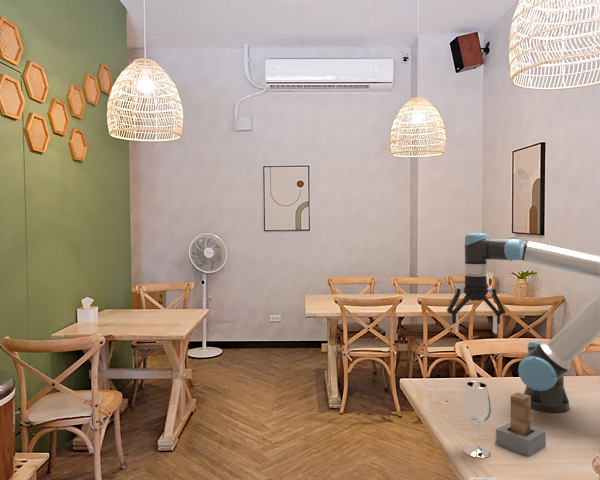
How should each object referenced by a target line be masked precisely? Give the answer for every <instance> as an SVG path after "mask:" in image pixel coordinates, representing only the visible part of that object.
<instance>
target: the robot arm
mask: <svg viewBox="0 0 600 480" xmlns="http://www.w3.org/2000/svg"><path fill="white" fill-rule="evenodd" d="M463 248H464V274H465V276H464V288H460V287H456V288H455V294H454V295H453V297H452V299H451V301H450V303H449V304H448V307H447V309H446V312H447V313H448V314H451V321H452V324H454V332H455V334H458V333H459V314H458V313H459V312H460V311H461V310H462V308H463V307H464V306H465V305H466V304H467V303H468V302H469V301H471V302H472V301H473V302H474V301H482V300H483V301H484V303H486V305H487V306H488V307H489V309H490V310H491V311H493V313H494V314H493V315H492V332H493V333H494V334H495V335H496V334H498V325H500V323H501V315H505V314H506V310H505V308H504V307H503V305H502V302H501V301H500V299H499V297H498V295H497V289H496V288H494V287H491V288H488V287H487V285H488V284H487V280H488V279H487V276H486V275H487V271H488V269H487V268H488V267H487V260H490V261H491V260H493V261H494V260H496V261H511V262H512V261H523V262H524V261H525V262H530V263H533V264H536V265H537V264H538V265H542V266H546V267H551V268H554V269H558V270H562V271H568V272H570V273H576V274H579V275H583V276H589V277H592V278H596V279H600V255H597V254H593V253H588V252H583V251H579V250H573V249H568V248H565V247H559V246H556V245H555V246H554V245H549V244H545V243H540V242H535V241H530V240H525V239H521V238H519V237H509V238H488V237H487V233H484V232H483V233H482V232H481V233H479V232H478V233H475V232H473V233H472V232H471V233H467V234H465V236H464V247H463ZM463 293H464V294H465V296H464V297H463V299H462V300H461V301H460V302H459V303H458V304H457V301H458V300H459V299H460V296H461V295H462V294H463ZM488 293H489V294H490V295H491V297H492V299H493V300H494V303H495V304H496V306H497V307H495V306H494V304H493V303H492V302H491V301H490V300H489V299H488V297H487V296H486V295H488ZM456 304H457V305H456ZM455 305H456V306H455ZM599 336H600V293H598V294H597V296H595V297H594V298H593V299H592V300H591V301H590V302H589V303H588V304H587V305H586V306H585V307H583V308H582V309H581V311H580V312H578V314H576V315H575V316H574V317H573V318H572V319H571V320H570V321H569V322H567V324H566V325H565V326H563V328H562V329H560V331H558V332H557V333H556V334H555V335H554V336H553V337H552V338H551V339H550V340H549V341H541V340H540V341H539V340H532V341H529V342H528V344H527V354H526V355H525V357H524V358H522V359H521V360H520V362H519V364H518V368H517V369H518V371H517V372H518V376H519V378H520V381H522V383H523V384H524V385H525V389H524V391H523V393H522V394H525V395H528V396H531V409H534V410H536V411H541V412H546V413H547V412H548V413H564V412H567V411H569V409H570V400H569V397H568V395H567V391H566V388H565V386H564V385H565V383H564V382H565V381H564V379H565V378H564V377H565V376H564V375H565V374H566V373H567V372H568V371H569V370H571V362H572V361H573V360H574V359H576V357H577V356H578V355H579V354H580V353H581V352H583V351H584V350H585V349H586V348H587V347H588V346H590V344H592V343H593V342H594V341H595V340H596V339H597V338H598V337H599Z"/></svg>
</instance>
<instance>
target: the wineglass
mask: <svg viewBox="0 0 600 480" xmlns="http://www.w3.org/2000/svg"><path fill="white" fill-rule="evenodd" d="M462 412H463V414H464V416H465V418H466V419H467V420H469V422H471V423H473V424H474V429H475V432H474V433H475V435H474V437H475V439H474V440H475V443H474V444H467V445H465V446H463V448H462V451H463V453H465V454H466V455H467V456H470V457H472V458H477V459H485V458H488V457H490V455H491V451H490V449H488V448H486V447H485V446H482V445H479V435H478V434H479V425H481V424H483V423H485V422H486V421H488V419H489V418H490V416H491V413H492V405H491V400H490V393H489V390H488V385H487V384H486V383H484V382H481V381H475V380H473V381H468V382H466V384H465V388H464V394H463V398H462Z"/></svg>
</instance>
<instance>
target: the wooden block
mask: <svg viewBox="0 0 600 480" xmlns="http://www.w3.org/2000/svg"><path fill="white" fill-rule="evenodd" d="M531 409H532V408H531V396H528V395H525V394H523V393H521V392H518V391H517V392H515V393H513V394H511V395H510V422H511V432H514V433H517V434H519V435H522V436H525V437H526V436H527V435H529V434H530V426H531V421H532V420H531V418H532V417H531V413H532V412H531Z"/></svg>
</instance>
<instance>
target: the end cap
mask: <svg viewBox="0 0 600 480" xmlns="http://www.w3.org/2000/svg"><path fill="white" fill-rule="evenodd" d="M546 433H547V432H546V431H545V430H542V429H540V428H537V427H534V426H531V425H530V434H529V435H527V436H526V437H525V436H522V435H519V434H517V433H514V432H511V421H510V422H507V423H505V424H503V425H502V426H500V427H497V428H496V429H495V444H496V445H498V446H500V447H503V448H506V449H509V450H510V451H513V452H516V453H519V454H521V455H524V456H526V457H530V456H532V455H534V454H536V453H537V452H539V451H540V450H542V449H544V448H545V447H546V443H547V442H546V441H547V440H546V439H547V438H546V436H547V434H546Z"/></svg>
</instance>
